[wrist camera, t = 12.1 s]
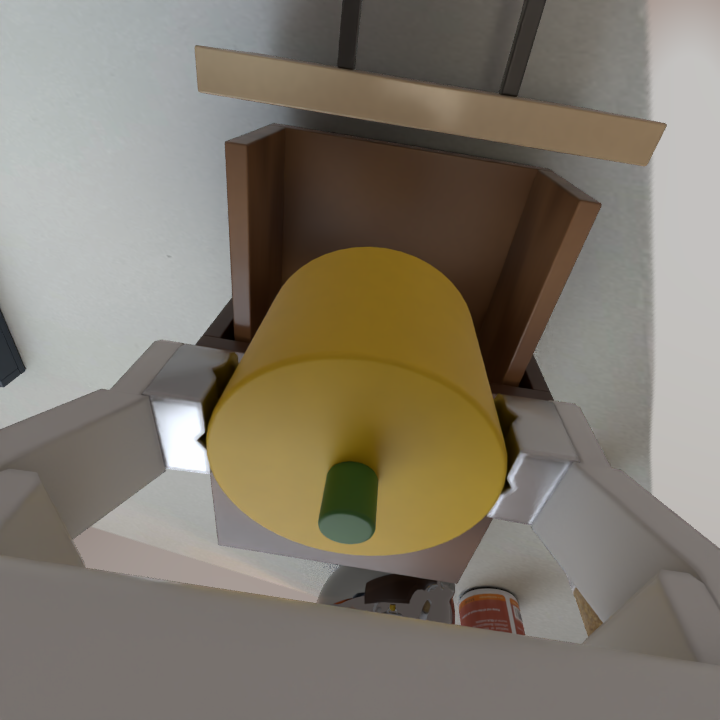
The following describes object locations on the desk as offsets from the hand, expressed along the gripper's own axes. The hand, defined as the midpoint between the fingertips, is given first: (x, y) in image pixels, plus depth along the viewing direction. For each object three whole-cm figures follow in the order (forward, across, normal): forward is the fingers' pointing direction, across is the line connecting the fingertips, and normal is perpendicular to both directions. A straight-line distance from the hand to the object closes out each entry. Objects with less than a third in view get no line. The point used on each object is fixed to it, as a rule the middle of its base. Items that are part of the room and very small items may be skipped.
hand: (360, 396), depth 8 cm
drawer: (+15, -1, 0) cm, 15 cm away
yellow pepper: (+2, 0, 0) cm, 2 cm away
